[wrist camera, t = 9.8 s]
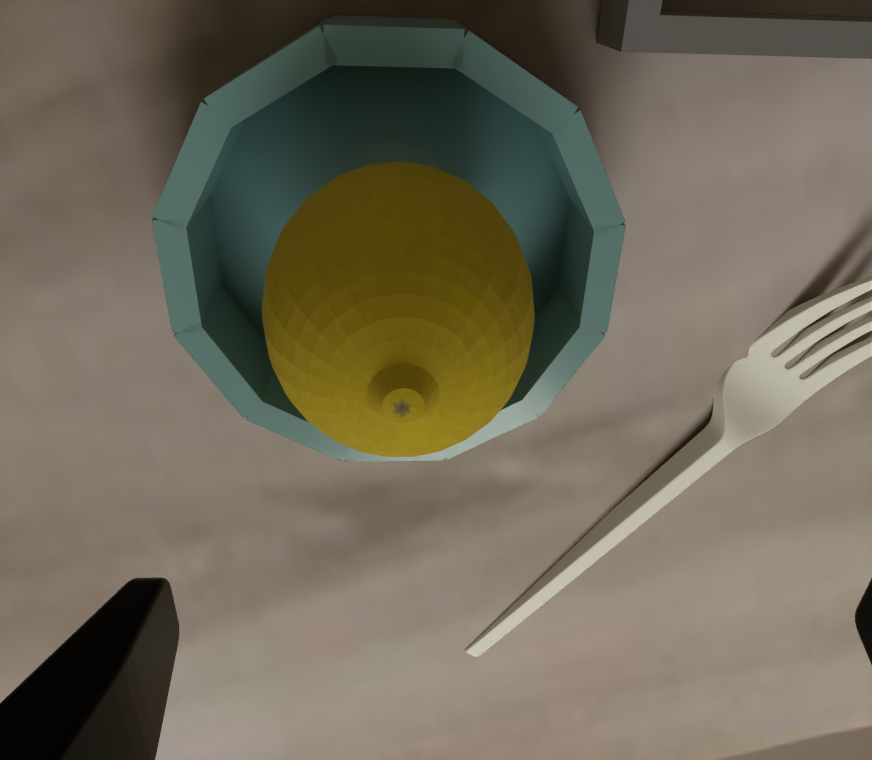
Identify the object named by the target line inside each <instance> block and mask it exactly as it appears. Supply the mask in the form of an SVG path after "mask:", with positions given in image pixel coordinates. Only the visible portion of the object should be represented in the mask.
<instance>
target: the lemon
mask: <svg viewBox="0 0 872 760" xmlns="http://www.w3.org/2000/svg"><path fill="white" fill-rule="evenodd" d="M262 320H263V326H264V332H265V338H266V344H267V350H268V354H269V359H270V362H271V364H272V367H273V369H274V371H275V373H276V375H277V377H278V379H279V381H280V384H281V386H282V388H283V390H284V392H285V394H286V395H287V397H288V398H289V400H290V401H291V402H292V403H293V404H294V406H295V407H296V408H297V409H298V410H299V412H300V413H301V414H302V415H303V416H304V417H305V419H306V420H307V421H308V422H309V423H311V424H312V425H313V426H315V427H316V428H318V429H319V430H320V431H322V432H323V433H324V434H326V435H327V436H329V437H330V438H331V439H333V440H334V441H336V442H338V443H341V444H343V445H345V446H348V447H350V448H352V449H355V450H357V451H359V452H364V453H369V454H374V455H379V456H384V457H416V456H421V455H425V454H430V453H435V452H439V451H442V450H444V449H447V448H449V447H451V446H453V445H456V444H458V443H460V442H463V441H465V440H466V439H468V438H469V437H470V436H472V435H473V434H474V433H476V432H477V431H479V430H480V429H481V428H483V427H484V426H485V425H487V424H488V423H489V422H490V421H492V419H493V418H494V417H495V416H496V415H497V413H498V412H499V411H500V410H501V409H502V408H503V406H504V405H505V404H506V403H507V402H508V400H509V399H510V397H511V396H512V394H513V392H514V390H515V388H516V386H517V384H518V381H519V379H520V377H521V375H522V373H523V371H524V369H525V367H526V364H527V360H528V355H529V350H530V345H531V340H532V335H533V329H534V321H535V313H534V301H533V290H532V280H531V274H530V271H529V268H528V265H527V262H526V260H525V257H524V254H523V252H522V249H521V247H520V244H519V241H518V239H517V237H516V235H515V233H514V231H513V230H512V229H511V227H510V226H509V224H508V223H507V222H506V220H505V219H504V218H503V216H502V215H501V213H500V212H499V211H498V209H497V208H496V207H495V205H494V204H493V203H492V202H491V201H490V200H489V199H487V198H486V197H485V196H484V195H482V194H481V193H480V192H478V191H477V190H476V189H475V188H473V187H472V186H471V185H470V184H468V183H467V182H466V181H464V180H463V179H461V178H458V177H456V176H454V175H451V174H449V173H447V172H444V171H442V170H440V169H437V168H435V167H433V166H427V165H421V164H414V163H408V162H401V161H397V162H388V163H378V164H369V165H365V166H362V167H360V168H357V169H355V170H352V171H349V172H347V173H344V174H342V175H339V176H337V177H335V178H334V179H332V180H331V181H329V182H328V183H327V184H325V185H324V186H322V187H321V188H320V189H318V190H317V191H316V192H314V193H313V194H311V195H310V196H309V197H307V198H306V199H305V201H304V202H303V203H302V204H301V206H300V207H299V208H298V210H297V211H296V212H295V213H294V215H293V216H292V217H291V218H290V220H289V221H288V222H287V223H286V225H285V226H284V227H283V229H282V231H281V233H280V235H279V238H278V240H277V243H276V245H275V247H274V250H273V252H272V255H271V257H270V260H269V262H268V265H267V269H266V275H265V284H264V292H263V301H262Z"/></svg>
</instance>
